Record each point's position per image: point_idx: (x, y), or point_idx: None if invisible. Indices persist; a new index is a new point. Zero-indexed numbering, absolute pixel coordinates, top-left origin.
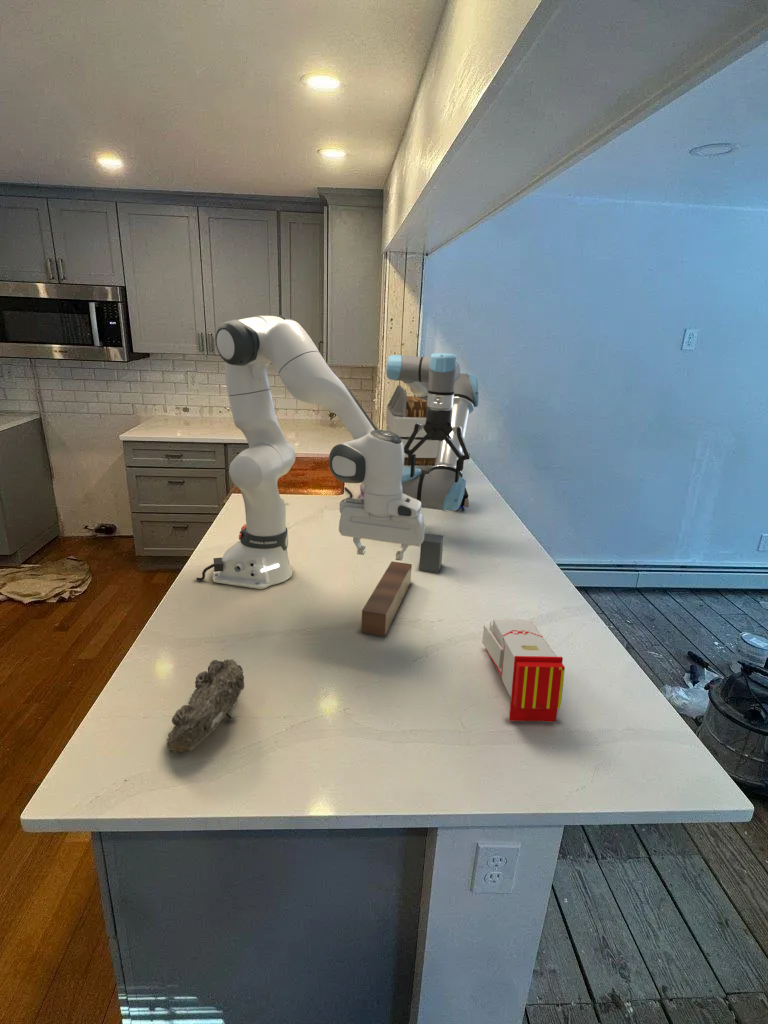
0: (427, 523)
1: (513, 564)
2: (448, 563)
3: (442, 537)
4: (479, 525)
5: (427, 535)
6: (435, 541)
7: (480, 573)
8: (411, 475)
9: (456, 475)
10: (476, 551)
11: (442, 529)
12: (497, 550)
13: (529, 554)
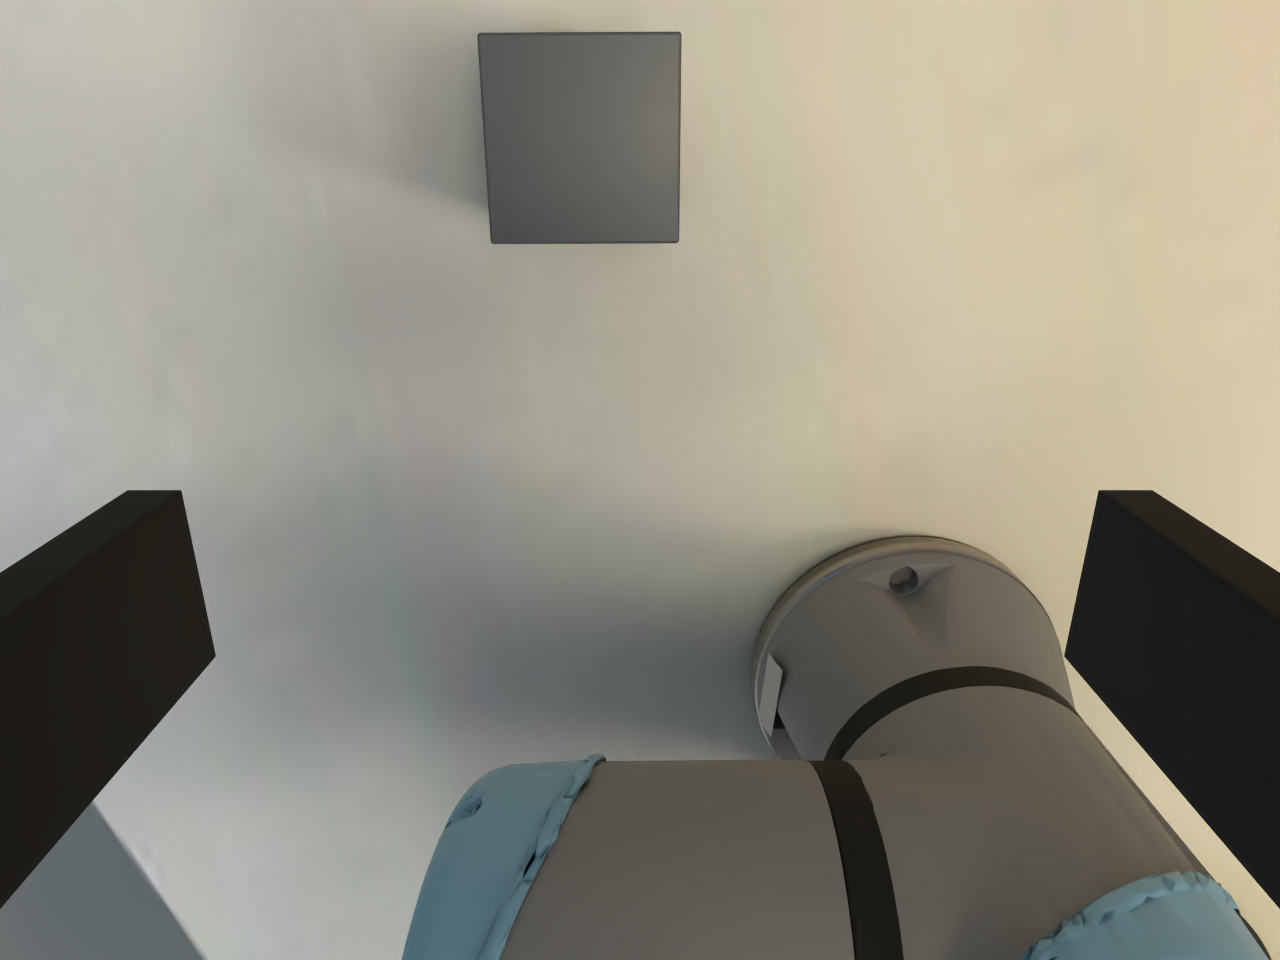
0: None
1: (68, 410)
2: (487, 271)
3: (492, 186)
4: None
5: (641, 185)
6: (535, 47)
7: (235, 177)
8: (1149, 507)
9: (61, 558)
10: (350, 534)
11: None
12: (225, 593)
13: None
